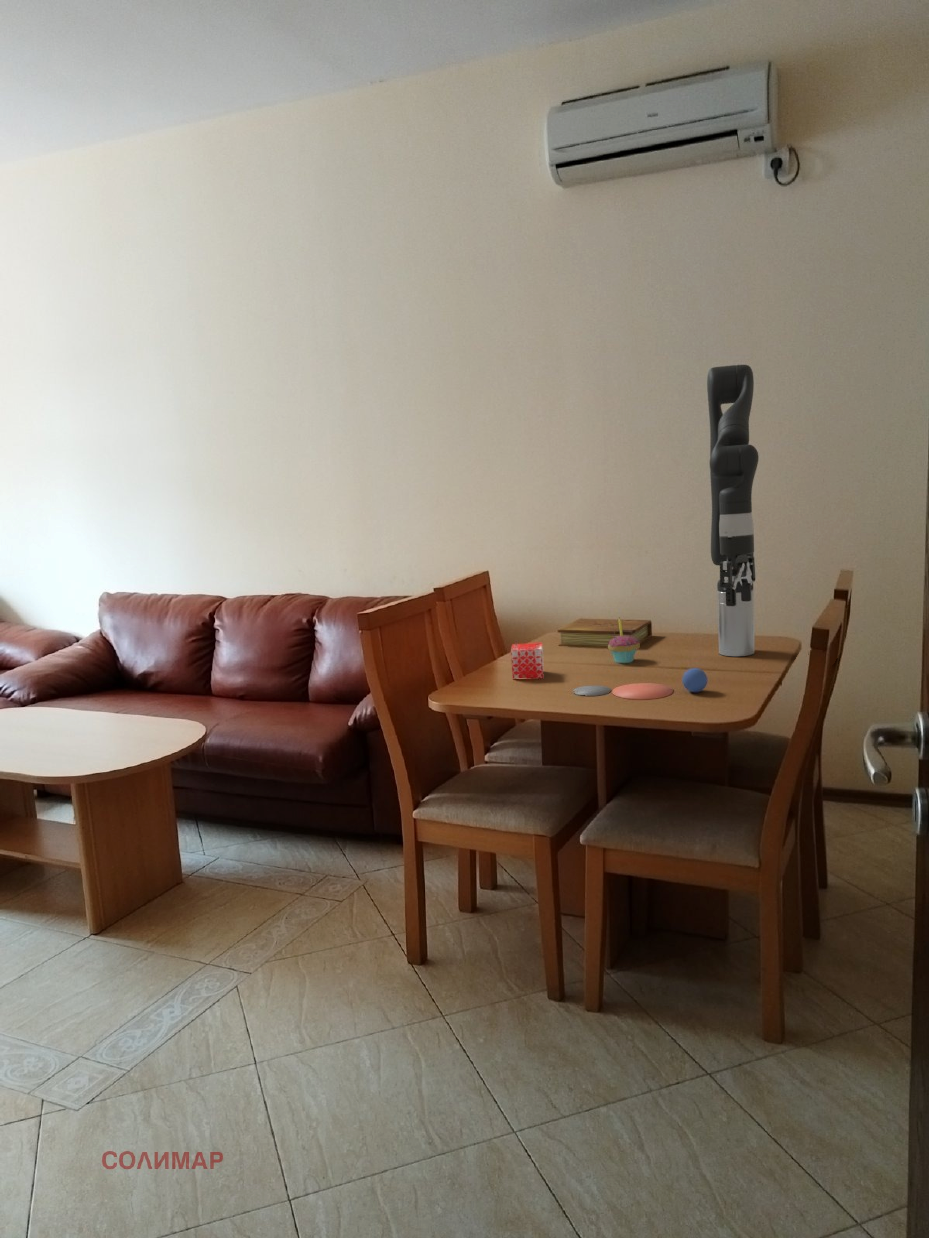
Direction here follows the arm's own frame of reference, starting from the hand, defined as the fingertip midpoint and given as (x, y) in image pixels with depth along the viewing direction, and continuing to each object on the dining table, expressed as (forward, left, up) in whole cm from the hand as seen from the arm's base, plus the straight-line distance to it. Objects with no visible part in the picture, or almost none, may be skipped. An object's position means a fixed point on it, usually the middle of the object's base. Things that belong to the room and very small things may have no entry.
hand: (738, 603), depth 202 cm
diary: (-50, -39, -20) cm, 67 cm away
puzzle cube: (-7, -53, -20) cm, 57 cm away
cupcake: (-23, -30, -19) cm, 43 cm away
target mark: (+8, -22, -19) cm, 30 cm away
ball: (+8, -10, -16) cm, 21 cm away
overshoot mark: (+8, -34, -19) cm, 40 cm away
